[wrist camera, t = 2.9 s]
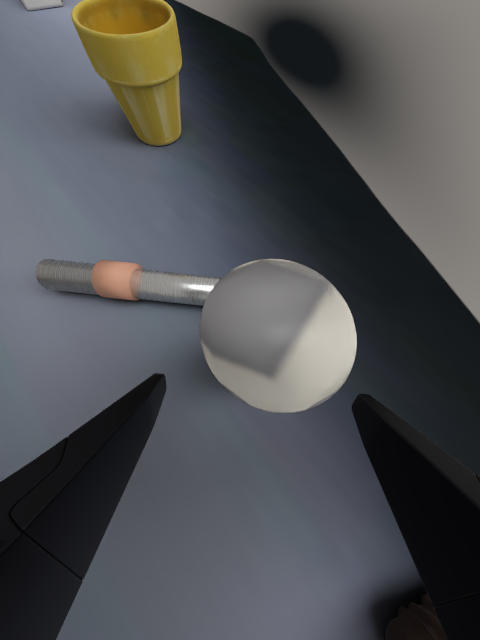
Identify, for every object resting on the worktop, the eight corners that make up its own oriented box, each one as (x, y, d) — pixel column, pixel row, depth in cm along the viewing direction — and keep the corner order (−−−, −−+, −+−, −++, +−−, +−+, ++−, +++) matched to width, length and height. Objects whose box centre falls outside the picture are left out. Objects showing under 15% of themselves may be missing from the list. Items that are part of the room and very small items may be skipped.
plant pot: (110, 125, 28) (51, -2, 19) (169, 104, 30) (143, -17, 21) (145, 165, 26) (99, 44, 16) (206, 139, 28) (195, 21, 19)
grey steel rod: (303, 323, 20) (319, 311, 16) (58, 297, 19) (20, 279, 16) (303, 293, 21) (317, 276, 17) (71, 267, 20) (38, 245, 17)
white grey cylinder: (268, 391, 17) (366, 420, 5) (216, 386, 17) (186, 404, 5) (271, 339, 19) (348, 267, 7) (223, 334, 19) (211, 251, 7)
